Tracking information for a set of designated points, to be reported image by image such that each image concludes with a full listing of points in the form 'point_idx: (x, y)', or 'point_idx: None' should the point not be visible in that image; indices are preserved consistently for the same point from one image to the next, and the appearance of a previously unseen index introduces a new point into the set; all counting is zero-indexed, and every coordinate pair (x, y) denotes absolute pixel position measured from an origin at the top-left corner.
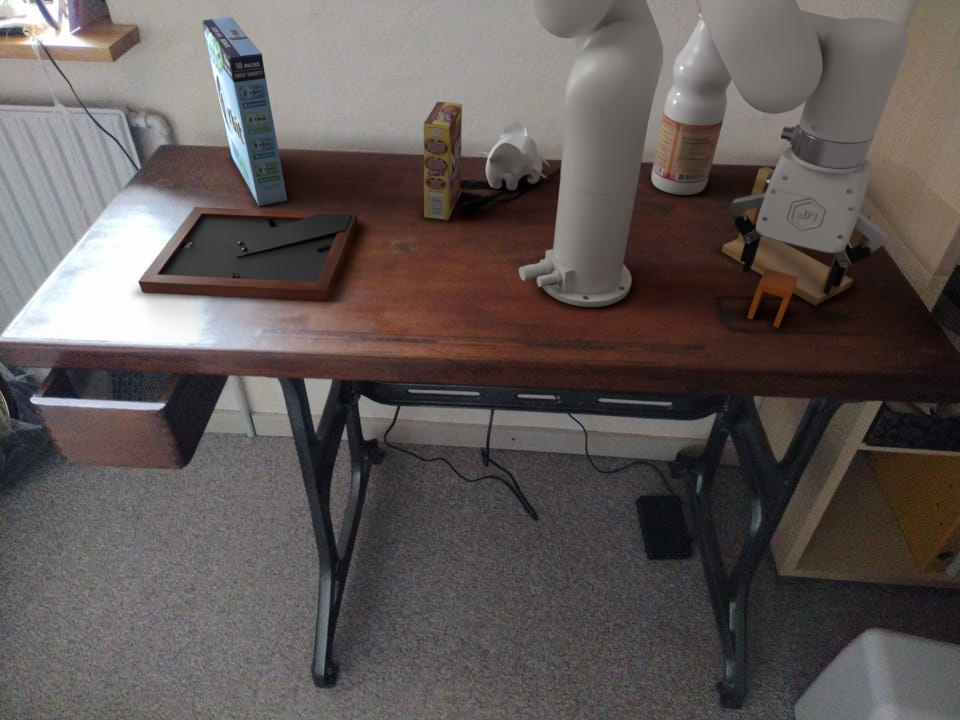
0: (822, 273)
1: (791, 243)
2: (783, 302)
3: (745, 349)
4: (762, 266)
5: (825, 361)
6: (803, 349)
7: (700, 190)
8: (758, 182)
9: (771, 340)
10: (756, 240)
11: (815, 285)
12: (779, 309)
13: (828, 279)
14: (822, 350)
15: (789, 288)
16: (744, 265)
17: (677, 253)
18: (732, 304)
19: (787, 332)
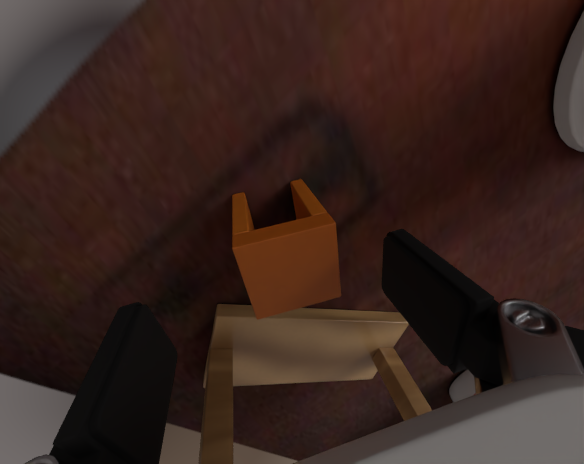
0: (250, 369)
1: (371, 456)
2: (244, 224)
3: (248, 41)
4: (338, 321)
5: (70, 152)
6: (142, 160)
7: (455, 384)
8: None
9: (218, 137)
10: (472, 340)
11: (241, 340)
12: (246, 212)
13: (120, 353)
14: (109, 189)
15: (250, 262)
16: (415, 240)
17: (464, 263)
18: (343, 201)
19: (208, 194)
